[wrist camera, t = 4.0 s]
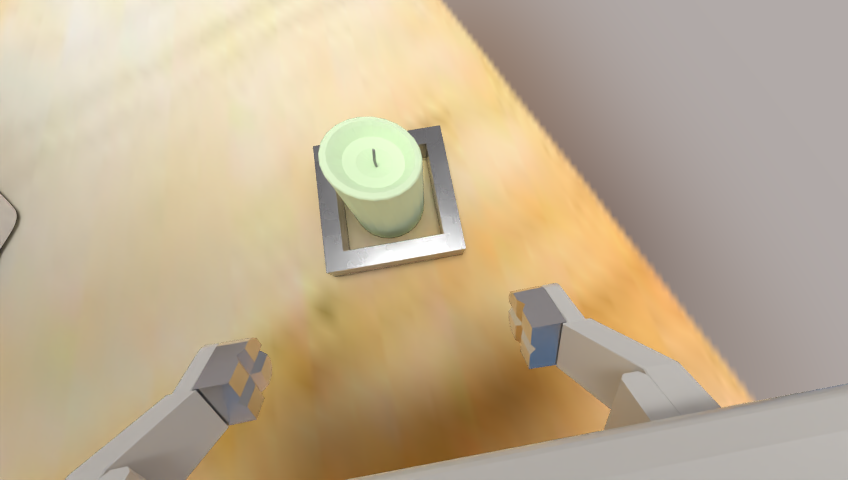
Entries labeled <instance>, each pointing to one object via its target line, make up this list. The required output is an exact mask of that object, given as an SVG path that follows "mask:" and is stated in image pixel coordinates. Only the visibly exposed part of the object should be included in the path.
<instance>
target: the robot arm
mask: <svg viewBox="0 0 848 480" xmlns="http://www.w3.org/2000/svg"><path fill="white" fill-rule="evenodd" d="M16 219H17V214H16V211H15V209H14V208H13V206H12V205H11V204H10V203H9V202H8V201H7V200H6V199H5V198H4V197H3V196H2V195H1V194H0V248H1V247H2V245H3V244H4V242H5V241H6V239H7V238H8V236H9V234H10V233H11V231H12V229H13V227H14V225H15V222H16ZM509 302H510V304H511V306H512V307H511V309H510V310H509V322H510V327H511V330H512V333H513V335H514V338H515V340H517V341H518V342H520V343H521V353H522V355H523V357H524V359H525V362H526V364H527V366H528V368H529V369H533V368H539V367H545V366H552V365H556V366H557V367H558V368H559V369H561V370H562V371H563V372H564V373H566V374H567V375H568V376H569V377H571V378H572V379H573V380H574V381H576V382H577V383H578V384H580V385H581V386H582V387H583V388H585V389H586V390H587V391H588V392H590V393H591V394H592V395H593V396H595V397H596V398H597V399H598V400H600V401H601V402H602V403H604V404H605V405H606V406H607V407H609V408H610V409H611V410H610V413H609V416H608V419H607V422H606V425H605V428H604V430H603V431H597V432H592V433H587V434H582V435H577V436H571V437H566V438H561V439H556V440H551V441H545V442H540V443H535V444H530V445H525V446H519V447H514V448H509V449H504V450H498V451H493V452H488V453H483V454H477V455H472V456H467V457H462V458H456V459H451V460H446V461H441V462H435V463H430V464H425V465H420V466H414V467H409V468H404V469H399V470H393V471H388V472H383V473H378V474H373V475H367V476H362V477H357V478H352V479H347V480H848V383H847V384H842V385H837V386H832V387H827V388H822V389H816V390H812V391H806V392H801V393H795V394H790V395H785V396H780V397H775V398H769V399H764V400H759V401H754V402H748V403H743V404H738V405H733V406H728V407H722V408H721V407H720V406H719V405H718V404H717V402H716V401H715V400H714V399H713V398H712V397H711V396H710V395H709V394H708V393H707V392H706V391H705V390H704V389H703V388H702V387H701V386H700V385H699V383H698V382H697V381H696V380H695V379H694V378H693V377H692V376H691V375H690V374H689V373H688V372H687V371H686V370H685V369H684V368H683V367H682V365H681V364H680V363H679V362H677V361H675V360H673V359H671V358H669V357H667V356H665V355H663V354H661V353H659V352H657V351H655V350H653V349H651V348H649V347H647V346H645V345H643V344H641V343H639V342H637V341H635V340H633V339H631V338H629V337H627V336H625V335H623V334H621V333H619V332H617V331H615V330H613V329H611V328H609V327H607V326H605V325H603V324H601V323H599V322H597V321H595V320H593V319H591V318H590V319H585V318H584V316H583V315H582V314H581V312H580V311H579V310H578V309H577V307H576V306H575V305H574V303H573V302H572V301H571V299H570V298H569V297H568V295H567V294H566V293H565V292H564V290H563V289H562V288H561V286H560V285H559V284H557V283H553V284H548V285H542V286H538V287H532V288H527V289H522V290H516V291H511V292H510V294H509ZM260 348H261V343H260V342H259V341H258V339H257V338H248V339H241V340H235V341H228V342H222V343H217V344H211V345H205V346H204V347H202V348H201V349H200V350H199V351H198V353H197V355H196V356H195V358H194V359H193V361H192V363H191V364H190V366H189V367H188V369H187V371H186V372H185V374H184V376H183V377H182V379H181V380H180V382H179V384H178V385H177V387H176V388H175V390H174V392H173V393H172V394H171V395H166V396H165V397H164V398H163V399H161V400H160V401H159V402H158V403H157V404H155V405H154V406H153V407H152V408H150V409H149V410H148V411H147V412H145V413H144V414H143V415H142V416H141V417H139V418H138V419H137V420H136V421H134V422H133V423H132V424H131V425H130V426H128V427H127V428H126V429H125V430H123V431H122V432H121V433H120V434H118V435H117V436H116V437H115V438H114V439H112V440H111V441H110V442H109V443H107V444H106V445H105V446H104V447H103V448H101V449H100V450H99V451H98V452H96V453H95V454H94V455H93V456H92V457H90V458H89V459H88V460H87V461H85V462H84V463H83V464H82V465H80V466H79V467H78V468H77V469H76V470H74V471H73V472H72V473H71V474H69V475H68V476H67V478H66V479H65V480H186V478H187V477H188V476H189V475H190V474H191V472H192V471H193V470H194V469H195V467H196V466H197V465H198V464H199V463H200V461H201V460H202V459H203V458H204V456H205V455H206V454H207V453H208V452H209V450H210V449H211V448H212V447H213V446H214V444H215V443H216V442H217V441H218V439H219V438H220V437H221V436H222V435H223V433H224V432H225V431H226V430H227V428H228V425H233V424H238V423H242V422H247V421H252V420H256V419H257V418H258V415H259V412H260V409H261V406H262V403H263V400H264V396H263V394H262V391H263V390H264V389H265V388H266V387H267V386H268V385H269V383H270V380H271V376H272V364H271V360H270V358H269V356H268V355H267V354H266V353H264V352H262V351H260Z"/></svg>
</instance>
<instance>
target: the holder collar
mask: <svg viewBox="0 0 848 480" xmlns="http://www.w3.org/2000/svg"><path fill="white" fill-rule="evenodd" d="M407 132H408V133H409V134H410V135H411V136H412V137H413V138H414V139H415V141H416V142H417V144H418V146H419V148H420V151H421V155H422V158H425V157H426V159H427V164H428V169H429V174H430V179H431V184H432V189H433V194H434V200H435V205H436V210H437V215H438V220H439V225H440V230H441V234H440V235H434V236H428V237H423V238H417V239H411V240H405V241H400V242H394V243H388V244H383V245H377V246H371V247H365V248H360V249H354V250H350V248H349V240H348V232H347V224H346V216H345V208H344V201H343V200H342V199H341V197H340V196H339V195H338V193H337V192H336V191H335V189H334V188H333V187H332V185H331V184H330V183H329V182H328V180H327V179H326V178H325V176H324V174H323V172H322V170H321V168H320V165H319V158H318V152H319V147H320V145H318V146H313V150H314V160H315V169H316V179H317V188H318V198H319V207H320V216H321V226H322V235H323V245H324V254H325V264H326V273H328V274H330V275H333V276H341V275H347V274H353V273H358V272H364V271H370V270H375V269H381V268H387V267H392V266H398V265H404V264H409V263H415V262H421V261H426V260H432V259H437V258H443V257H449V256H454V255H460V254H463V252H464V251H465V249H466V246H465V242H464V237H463V232H462V228H461V223H460V218H459V213H458V209H457V204H456V199H455V195H454V190H453V185H452V180H451V176H450V171H449V166H448V162H447V157H446V152H445V147H444V143H443V138H442V133H441V129H440V125H439V126H433V127H427V128H421V129H415V130H409V131H407Z"/></svg>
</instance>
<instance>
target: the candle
mask: <svg viewBox="0 0 848 480" xmlns="http://www.w3.org/2000/svg"><path fill="white" fill-rule="evenodd" d="M318 158H319V165H320V168H321V170H322V172H323V174H324V176H325V178H326V179H327V180H328V182H329V183H330V184H331V185H332V187H333V188H334V189H335V191H336V192H337V193H338V195H339V196H340V197H341V199H342V200H343V201H344V202H345V204H346V205H347V206H348V208H349V209H350V210H351V212H352V213H353V214H354V216H355V217H356V218H357V220H358V221H359V222H360V223H361V225H362V226H363V227H364V228H365V229H366V230H367V231H369V232H370V233H372V234H373V235H376V236H379V237H383V238H393V237H398V236H402V235H404V234H406V233H408V232H409V231H410V230H412V229H413V228H414V227H415V226H416V225H417V223H418V222H419V220H420V219H421V216H422V213H423V207H424V192H423V162H422V155H421V151H420V148H419V146H418V144H417V142H416V141H415V139H414V138H413V137H412V136H411V135H410V134H409V133H408V132H407V131H406V130H405V129H404V128H402V127H400V126H399V125H397V124H396V123H393V122H391V121H388V120H386V119H381V118H376V117H357V118H353V119H348V120H345V121H343V122H341V123H339V124H337V125H335V126H334V127H333V128H332V129H331V130H330V131H328V132H327V133H326V135H325V136H324V138H323V140H322V141H321V143H320V147H319V152H318Z"/></svg>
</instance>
